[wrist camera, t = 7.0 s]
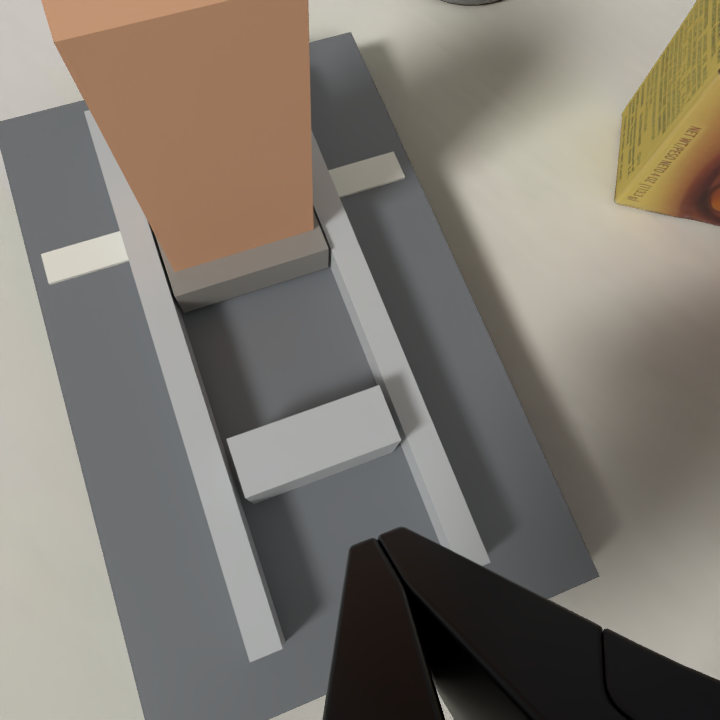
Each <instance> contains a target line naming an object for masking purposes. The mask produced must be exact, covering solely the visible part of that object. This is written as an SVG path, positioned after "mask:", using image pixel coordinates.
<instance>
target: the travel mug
mask: <svg viewBox="0 0 720 720" xmlns="http://www.w3.org/2000/svg"><path fill="white" fill-rule="evenodd" d="M441 1H445V2H448V3H455V4H462V5H479V4H485V3H491V2H495V1H498V0H441Z"/></svg>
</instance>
